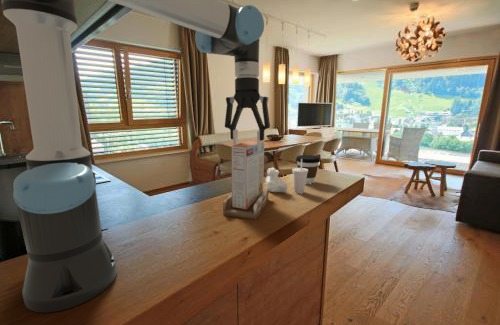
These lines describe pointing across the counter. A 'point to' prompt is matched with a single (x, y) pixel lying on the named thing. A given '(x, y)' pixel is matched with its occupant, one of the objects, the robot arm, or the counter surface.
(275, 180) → the bust
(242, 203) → the cracker box
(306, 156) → the coffee cup
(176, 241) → the counter surface
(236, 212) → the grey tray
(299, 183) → the smoothie
